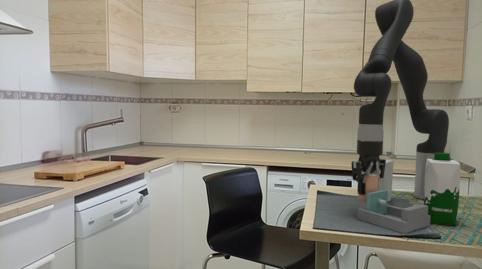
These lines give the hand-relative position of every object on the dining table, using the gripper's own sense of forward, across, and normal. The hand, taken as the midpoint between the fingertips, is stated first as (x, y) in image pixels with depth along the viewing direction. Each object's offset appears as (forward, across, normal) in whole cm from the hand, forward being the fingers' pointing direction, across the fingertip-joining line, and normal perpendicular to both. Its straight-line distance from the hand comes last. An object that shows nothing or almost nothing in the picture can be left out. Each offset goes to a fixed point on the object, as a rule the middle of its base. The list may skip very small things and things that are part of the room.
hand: (367, 193), depth 110 cm
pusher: (+6, 0, +4) cm, 7 cm away
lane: (+7, 0, +9) cm, 11 cm away
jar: (+2, 0, 0) cm, 2 cm away
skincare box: (+7, -18, -8) cm, 21 cm away
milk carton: (+7, -13, +15) cm, 21 cm away
